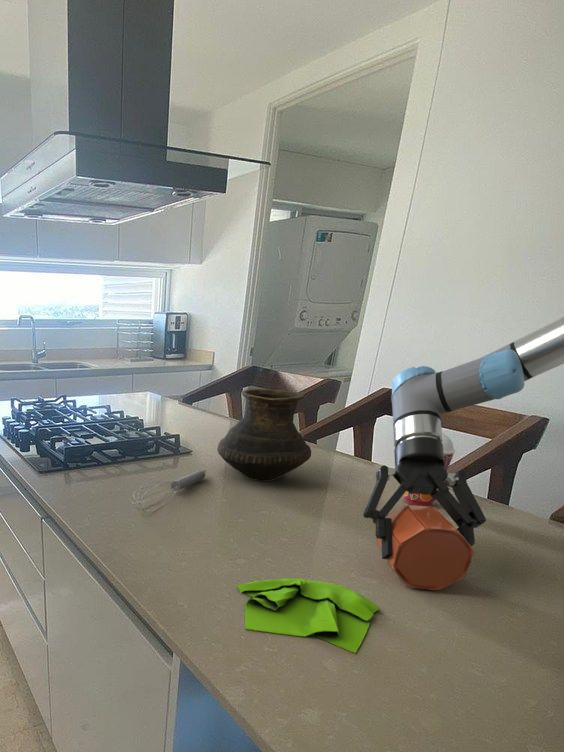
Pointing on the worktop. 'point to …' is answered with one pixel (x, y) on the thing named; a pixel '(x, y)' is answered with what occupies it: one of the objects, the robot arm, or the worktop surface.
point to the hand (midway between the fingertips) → (425, 560)
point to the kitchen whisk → (176, 485)
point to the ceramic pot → (266, 436)
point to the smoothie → (448, 454)
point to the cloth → (308, 610)
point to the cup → (427, 548)
